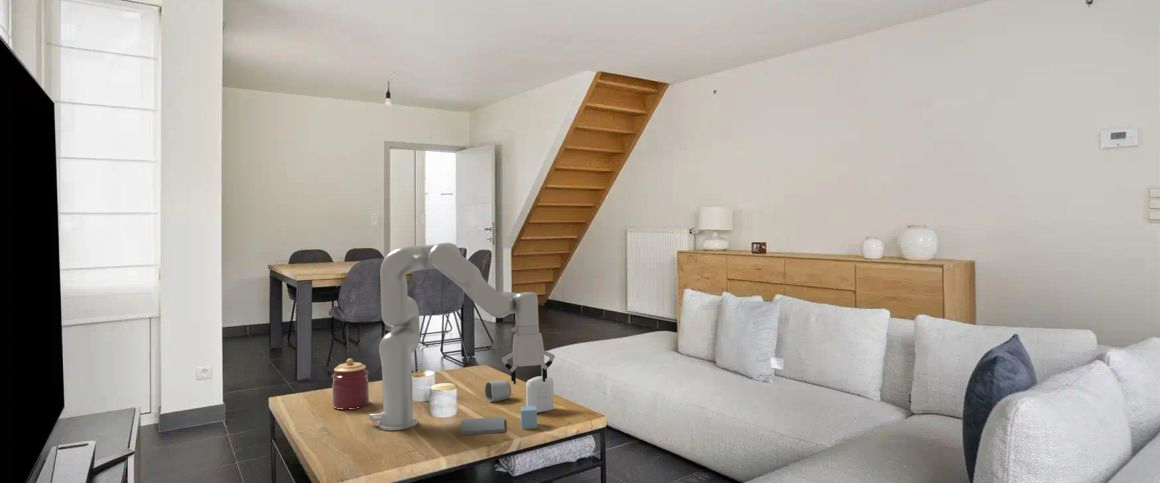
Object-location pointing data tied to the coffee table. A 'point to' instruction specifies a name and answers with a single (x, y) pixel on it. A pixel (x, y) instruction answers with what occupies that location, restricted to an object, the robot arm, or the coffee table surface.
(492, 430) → the slate pad
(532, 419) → the blue block
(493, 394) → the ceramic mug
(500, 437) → the coffee table surface
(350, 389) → the canister
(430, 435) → the coffee table surface
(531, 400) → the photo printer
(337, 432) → the coffee table surface
